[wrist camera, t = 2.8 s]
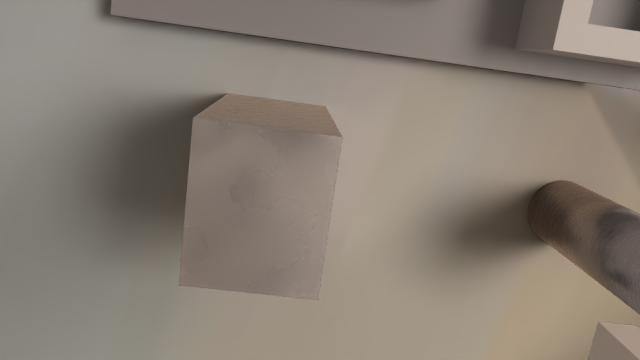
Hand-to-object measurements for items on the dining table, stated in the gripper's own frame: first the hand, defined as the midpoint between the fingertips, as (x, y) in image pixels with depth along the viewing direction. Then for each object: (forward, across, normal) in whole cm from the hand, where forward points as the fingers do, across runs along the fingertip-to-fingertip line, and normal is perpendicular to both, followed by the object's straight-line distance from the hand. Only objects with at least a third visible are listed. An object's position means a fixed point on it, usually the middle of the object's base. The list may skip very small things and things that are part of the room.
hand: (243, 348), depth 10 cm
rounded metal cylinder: (+19, +16, -1) cm, 25 cm away
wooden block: (+19, 0, 0) cm, 19 cm away
